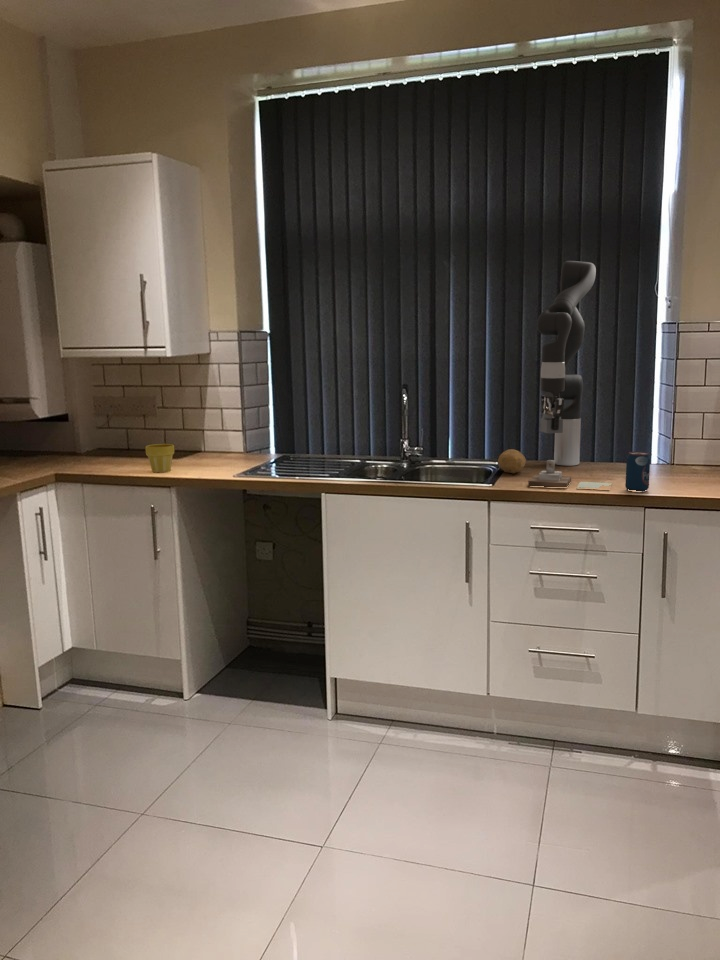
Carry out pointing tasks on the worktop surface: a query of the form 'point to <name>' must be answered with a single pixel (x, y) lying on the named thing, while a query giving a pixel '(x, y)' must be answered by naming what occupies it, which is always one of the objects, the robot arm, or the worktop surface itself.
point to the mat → (592, 484)
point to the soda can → (637, 471)
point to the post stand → (550, 477)
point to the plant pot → (160, 456)
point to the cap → (547, 422)
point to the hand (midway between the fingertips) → (551, 428)
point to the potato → (511, 461)
